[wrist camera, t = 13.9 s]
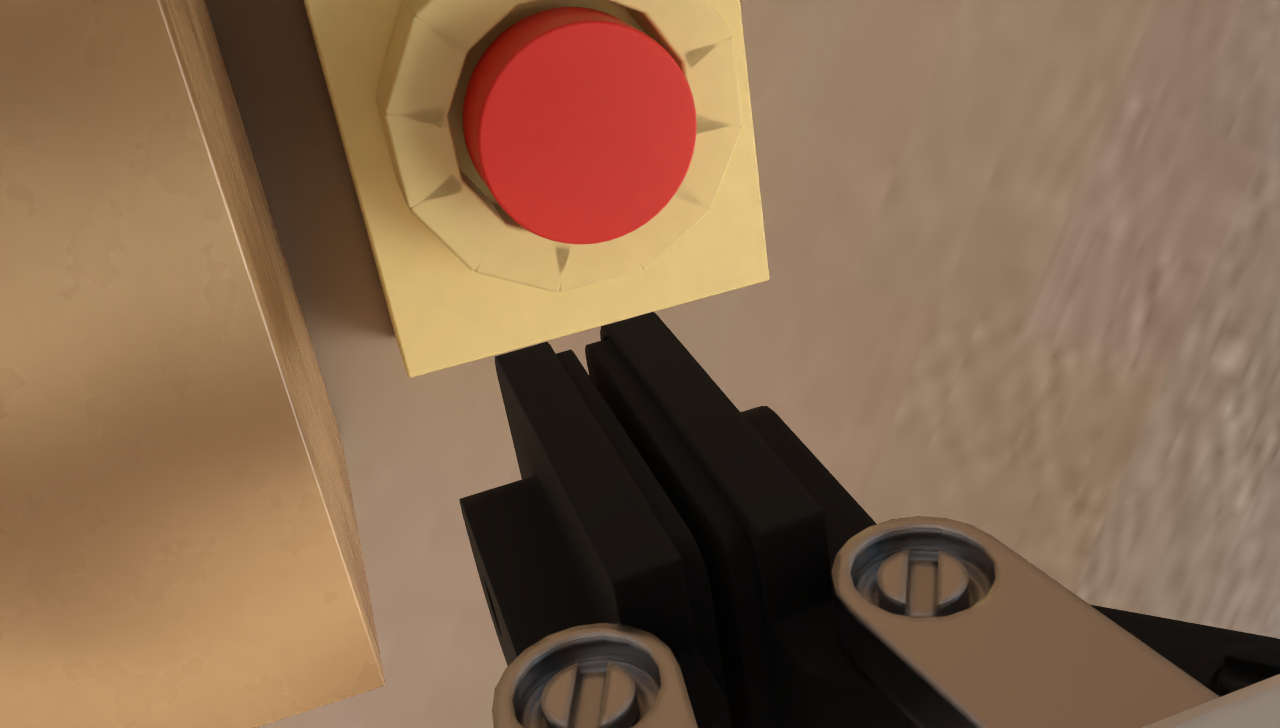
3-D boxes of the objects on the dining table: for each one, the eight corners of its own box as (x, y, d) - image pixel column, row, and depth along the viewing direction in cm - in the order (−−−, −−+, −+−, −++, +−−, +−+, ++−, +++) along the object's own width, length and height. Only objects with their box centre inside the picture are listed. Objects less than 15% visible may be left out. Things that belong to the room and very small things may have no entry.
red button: (439, 31, 23) (454, 48, 22) (653, -15, 24) (682, -2, 23) (486, 240, 25) (503, 269, 24) (682, 191, 26) (710, 215, 25)
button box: (265, -138, 24) (271, -127, 21) (680, -214, 26) (750, -214, 23) (396, 339, 29) (419, 412, 26) (735, 249, 31) (799, 306, 28)
